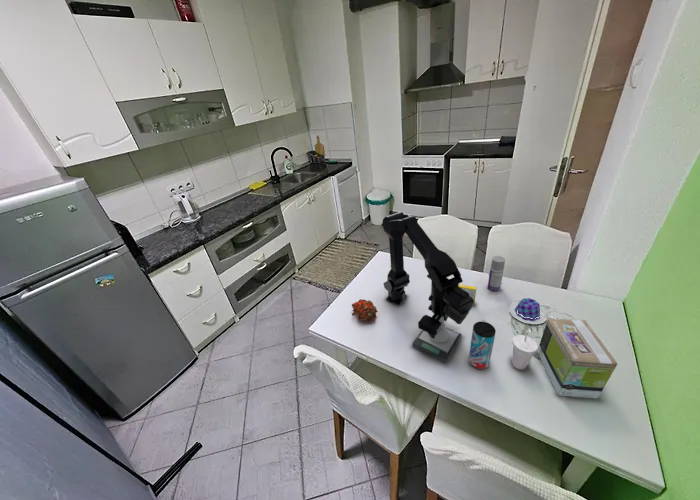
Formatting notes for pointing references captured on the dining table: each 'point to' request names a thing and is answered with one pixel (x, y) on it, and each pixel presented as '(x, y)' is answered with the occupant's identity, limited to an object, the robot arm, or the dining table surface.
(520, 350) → the smoothie
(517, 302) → the pudding
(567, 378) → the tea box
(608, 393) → the dining table surface
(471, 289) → the candy box
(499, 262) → the container
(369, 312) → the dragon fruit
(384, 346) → the dining table surface
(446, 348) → the scale
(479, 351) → the beverage can
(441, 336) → the flask
